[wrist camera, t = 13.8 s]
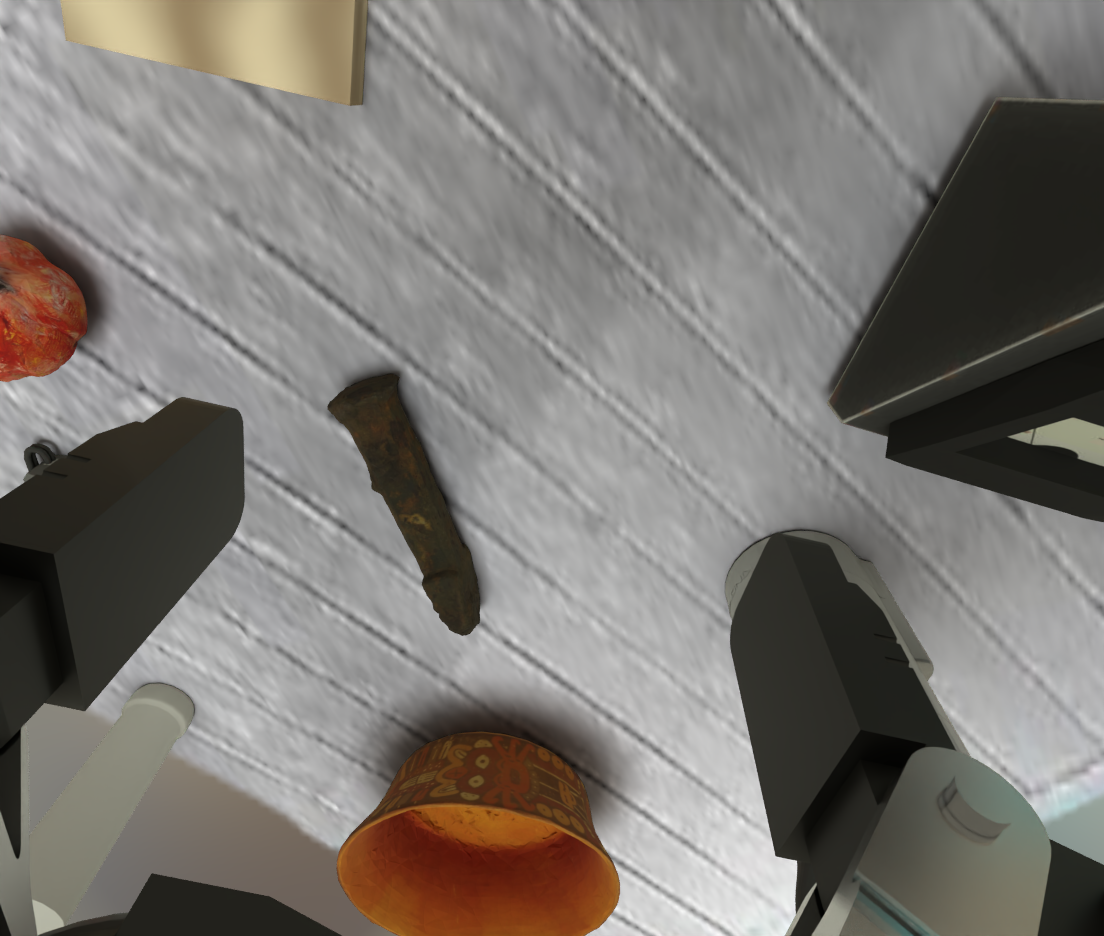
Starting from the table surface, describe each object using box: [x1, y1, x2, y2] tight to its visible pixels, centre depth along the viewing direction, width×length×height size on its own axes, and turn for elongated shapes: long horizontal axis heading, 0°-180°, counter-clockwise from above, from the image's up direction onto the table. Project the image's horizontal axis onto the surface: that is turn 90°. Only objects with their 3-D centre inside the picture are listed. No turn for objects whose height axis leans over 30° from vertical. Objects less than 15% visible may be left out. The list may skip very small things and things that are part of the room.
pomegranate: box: [0, 235, 87, 382], centre depth 36 cm, size 7×7×10 cm
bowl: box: [337, 732, 620, 936], centre depth 54 cm, size 21×21×10 cm
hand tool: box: [328, 374, 480, 636], centre depth 43 cm, size 19×4×5 cm, turn 15°
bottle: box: [30, 683, 194, 935], centre depth 45 cm, size 5×5×25 cm
